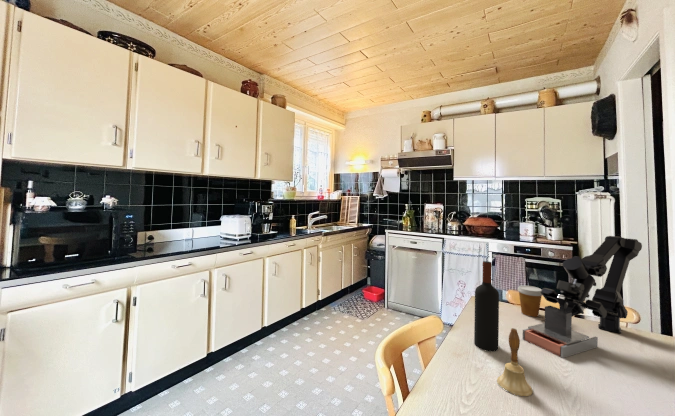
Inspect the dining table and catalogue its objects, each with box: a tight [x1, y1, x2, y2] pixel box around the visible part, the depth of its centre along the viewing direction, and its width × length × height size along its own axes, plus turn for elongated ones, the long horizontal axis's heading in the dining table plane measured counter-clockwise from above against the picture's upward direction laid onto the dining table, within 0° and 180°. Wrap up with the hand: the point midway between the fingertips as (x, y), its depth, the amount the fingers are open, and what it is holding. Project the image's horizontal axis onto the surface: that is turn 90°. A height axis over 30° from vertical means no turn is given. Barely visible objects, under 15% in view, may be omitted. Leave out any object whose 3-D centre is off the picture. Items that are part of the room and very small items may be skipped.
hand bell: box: [496, 328, 534, 397], centre depth 75 cm, size 8×8×16 cm
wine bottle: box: [473, 260, 500, 352], centre depth 96 cm, size 8×8×30 cm
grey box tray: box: [522, 327, 599, 359], centre depth 98 cm, size 19×13×4 cm
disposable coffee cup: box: [517, 284, 543, 318], centre depth 124 cm, size 10×10×12 cm
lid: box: [527, 305, 590, 345], centre depth 98 cm, size 13×13×9 cm
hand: (560, 319), depth 98 cm, fingers closed, pressing on lid
